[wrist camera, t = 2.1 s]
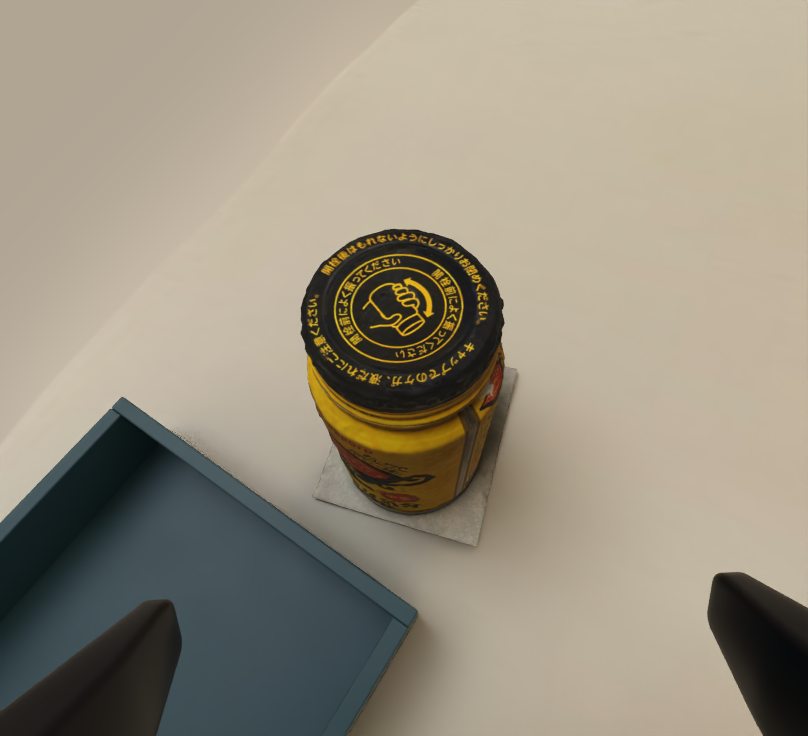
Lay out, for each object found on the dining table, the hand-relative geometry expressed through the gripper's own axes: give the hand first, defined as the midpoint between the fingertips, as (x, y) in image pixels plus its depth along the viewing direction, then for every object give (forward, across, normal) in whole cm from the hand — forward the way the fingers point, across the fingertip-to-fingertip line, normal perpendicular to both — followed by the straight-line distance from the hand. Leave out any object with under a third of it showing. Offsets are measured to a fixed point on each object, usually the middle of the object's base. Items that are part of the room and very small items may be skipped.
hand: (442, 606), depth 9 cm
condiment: (+15, 0, +4) cm, 16 cm away
